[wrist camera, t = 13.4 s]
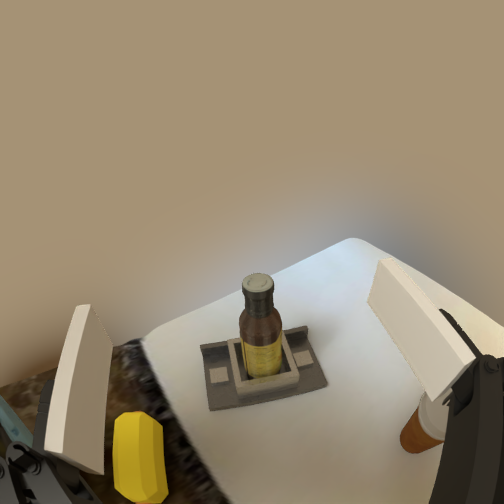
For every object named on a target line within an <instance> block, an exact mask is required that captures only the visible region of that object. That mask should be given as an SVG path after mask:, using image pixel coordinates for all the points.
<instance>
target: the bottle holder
mask: <svg viewBox="0 0 504 504" xmlns="http://www.w3.org/2000/svg"><path fill="white" fill-rule="evenodd" d="M307 334H308V328H307V326H302V327H298V328H293V329H288V330H284V331H283V330H282V364H281V370H280V372H279V374H277V375H273V376H268V377H263V378H258V379H253V380H251V379H250V378H249V377H248V375H247V372H246V369H245V366H244V359H243V352H242V345H241V338H236V339H229V340H227V341H223V342H217V343H210V344H203V345H200V349H201V352H202V355H203V361H204V371H205V380H206V388H207V396H208V404H209V409H210V411H216V410H223V409H230V408H236V407H242V406H248V405H254V404H259V403H264V402H269V401H273V400H278V399H282V398H286V397H291V396H295V395H299V394H303V393H306V392H310V391H314V390H317V389H321V388H324V387H326V386H327V382H326V380H325V378H324V375H323V373H322V371H321V368H320V366H319V364H318V361H317V359H316V357H315V355H314V352H313V350H312V348H311V345H310V343H309V341H308V339H307Z"/></svg>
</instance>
